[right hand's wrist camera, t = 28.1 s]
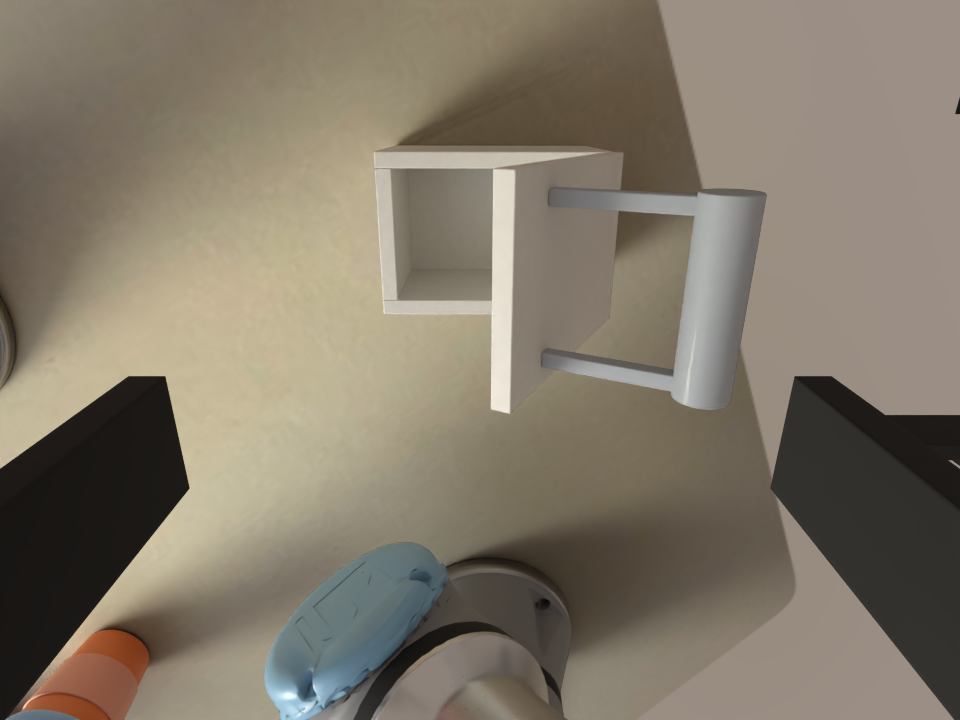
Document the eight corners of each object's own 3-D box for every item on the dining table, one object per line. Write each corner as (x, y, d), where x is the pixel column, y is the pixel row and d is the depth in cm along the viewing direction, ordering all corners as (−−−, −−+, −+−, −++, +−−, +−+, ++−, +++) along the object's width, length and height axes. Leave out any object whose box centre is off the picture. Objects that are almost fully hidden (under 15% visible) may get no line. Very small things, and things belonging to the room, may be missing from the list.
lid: (490, 409, 24) (715, 462, 20) (492, 167, 20) (764, 178, 17) (595, 316, 35) (749, 338, 32) (607, 151, 32) (783, 155, 28)
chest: (402, 278, 44) (383, 314, 36) (395, 145, 40) (373, 151, 32) (578, 278, 44) (600, 314, 36) (586, 145, 40) (614, 151, 32)
